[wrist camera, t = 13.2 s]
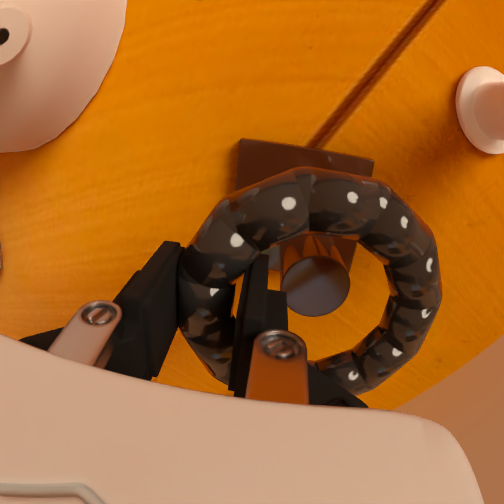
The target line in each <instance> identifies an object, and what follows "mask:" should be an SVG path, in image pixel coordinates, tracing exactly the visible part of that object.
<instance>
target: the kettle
mask: <svg viewBox="0 0 504 504" xmlns="http://www.w3.org/2000/svg"><path fill="white" fill-rule="evenodd" d="M126 5H127V0H0V153H3V152H11V151H13V152H19V151H25V150H31V149H36V148H38V147H39V146H41V145H43V144H45V143H47V142H49V141H50V140H52V139H54V138H56V137H57V136H58V135H59V134H60V133H61V132H63V131H64V130H65V129H66V128H67V127H68V126H69V125H70V124H71V123H72V122H74V121H75V120H76V119H77V118H78V117H79V115H80V114H81V112H82V111H83V110H84V108H85V107H86V106H87V104H88V103H89V102H90V100H91V99H92V98H93V96H94V95H95V94H96V92H97V91H98V89H99V87H100V85H101V83H102V81H103V79H104V77H105V75H106V73H107V71H108V69H109V67H110V66H111V64H112V62H113V60H114V57H115V54H116V51H117V47H118V44H119V41H120V38H121V35H122V32H123V29H124V24H125V14H126Z"/></svg>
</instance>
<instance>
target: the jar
mask: <svg viewBox="0 0 504 504" xmlns="http://www.w3.org/2000/svg"><path fill="white" fill-rule="evenodd" d="M1 264H2V254H1V244H0V269H1Z"/></svg>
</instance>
